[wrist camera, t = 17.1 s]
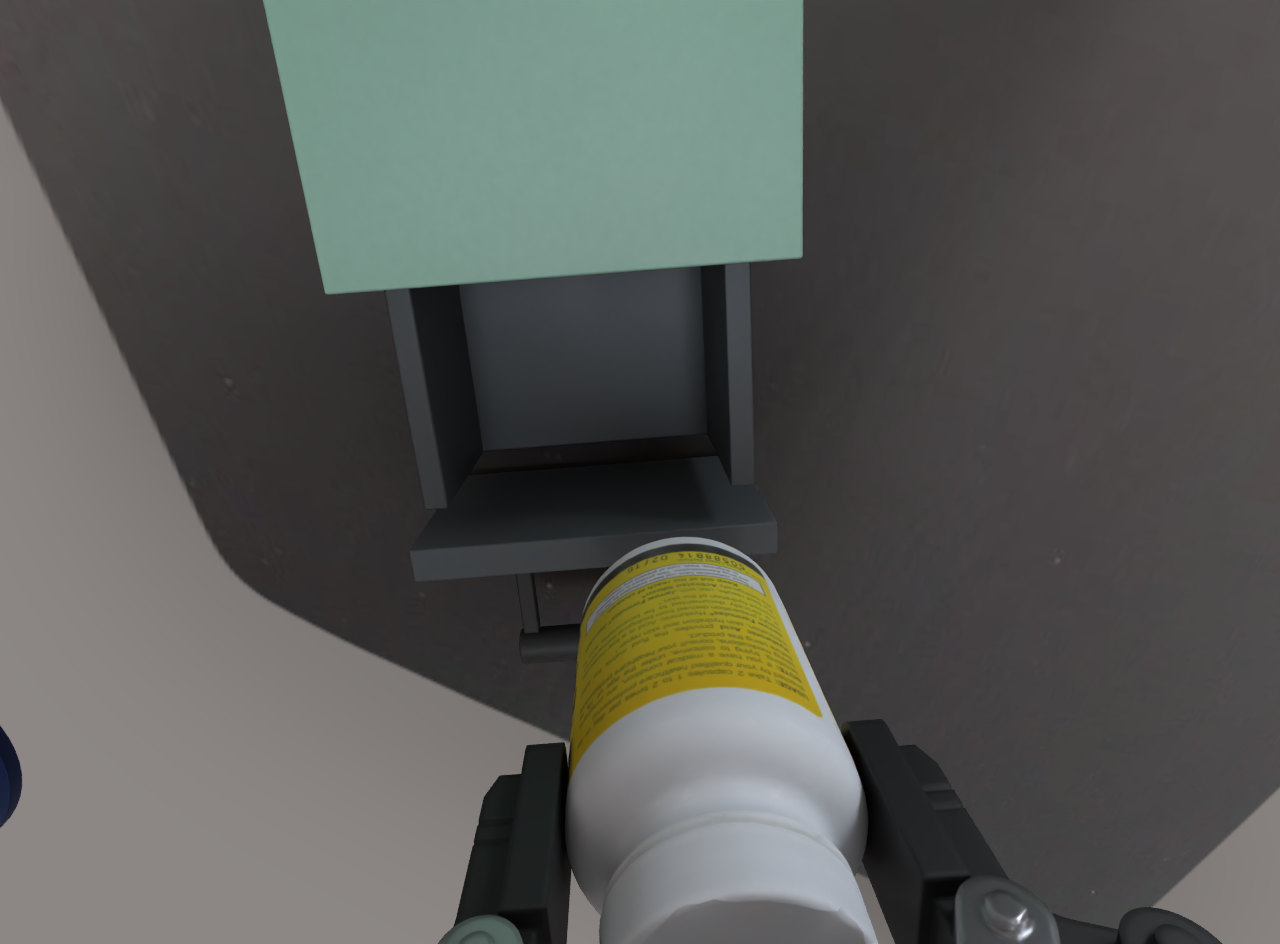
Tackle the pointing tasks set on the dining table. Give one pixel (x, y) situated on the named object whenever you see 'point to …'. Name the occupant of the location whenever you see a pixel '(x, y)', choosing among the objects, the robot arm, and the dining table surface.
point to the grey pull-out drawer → (578, 422)
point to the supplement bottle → (708, 762)
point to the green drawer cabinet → (542, 135)
